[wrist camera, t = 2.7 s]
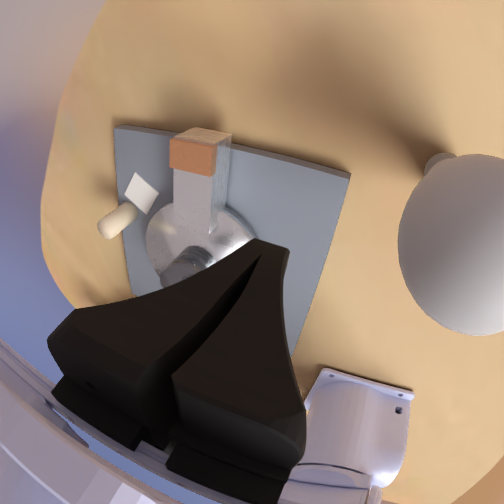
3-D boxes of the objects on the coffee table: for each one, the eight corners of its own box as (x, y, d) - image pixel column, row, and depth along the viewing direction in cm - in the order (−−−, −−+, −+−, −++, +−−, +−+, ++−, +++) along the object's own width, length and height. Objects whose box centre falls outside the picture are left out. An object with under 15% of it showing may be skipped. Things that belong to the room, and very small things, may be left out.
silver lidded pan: (256, 318, 25) (238, 355, 22) (157, 280, 26) (131, 309, 23) (289, 146, 16) (267, 169, 13) (149, 120, 18) (108, 136, 15)
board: (350, 173, 17) (344, 202, 14) (294, 347, 27) (281, 384, 24) (122, 124, 21) (83, 140, 18) (137, 287, 30) (113, 313, 27)
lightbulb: (423, 94, 13) (496, 143, 5) (507, 158, 13) (610, 275, 4) (371, 184, 17) (356, 325, 9) (452, 236, 17) (486, 392, 8)
